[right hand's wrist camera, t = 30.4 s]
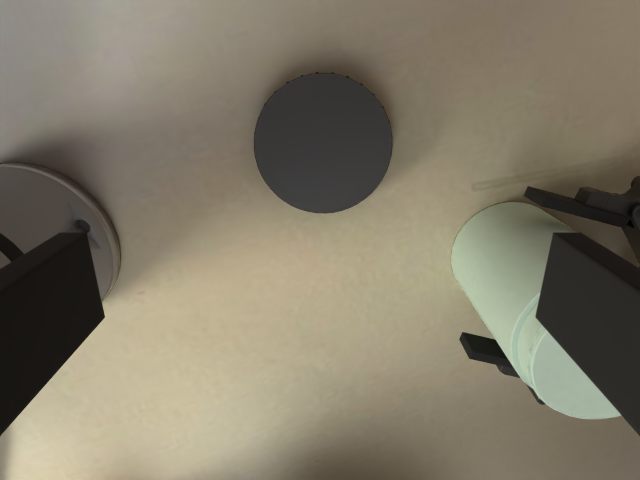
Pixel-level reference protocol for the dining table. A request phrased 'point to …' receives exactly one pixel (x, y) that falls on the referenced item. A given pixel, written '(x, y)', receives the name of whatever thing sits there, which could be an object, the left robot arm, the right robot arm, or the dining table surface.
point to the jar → (522, 302)
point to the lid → (323, 143)
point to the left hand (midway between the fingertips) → (496, 275)
